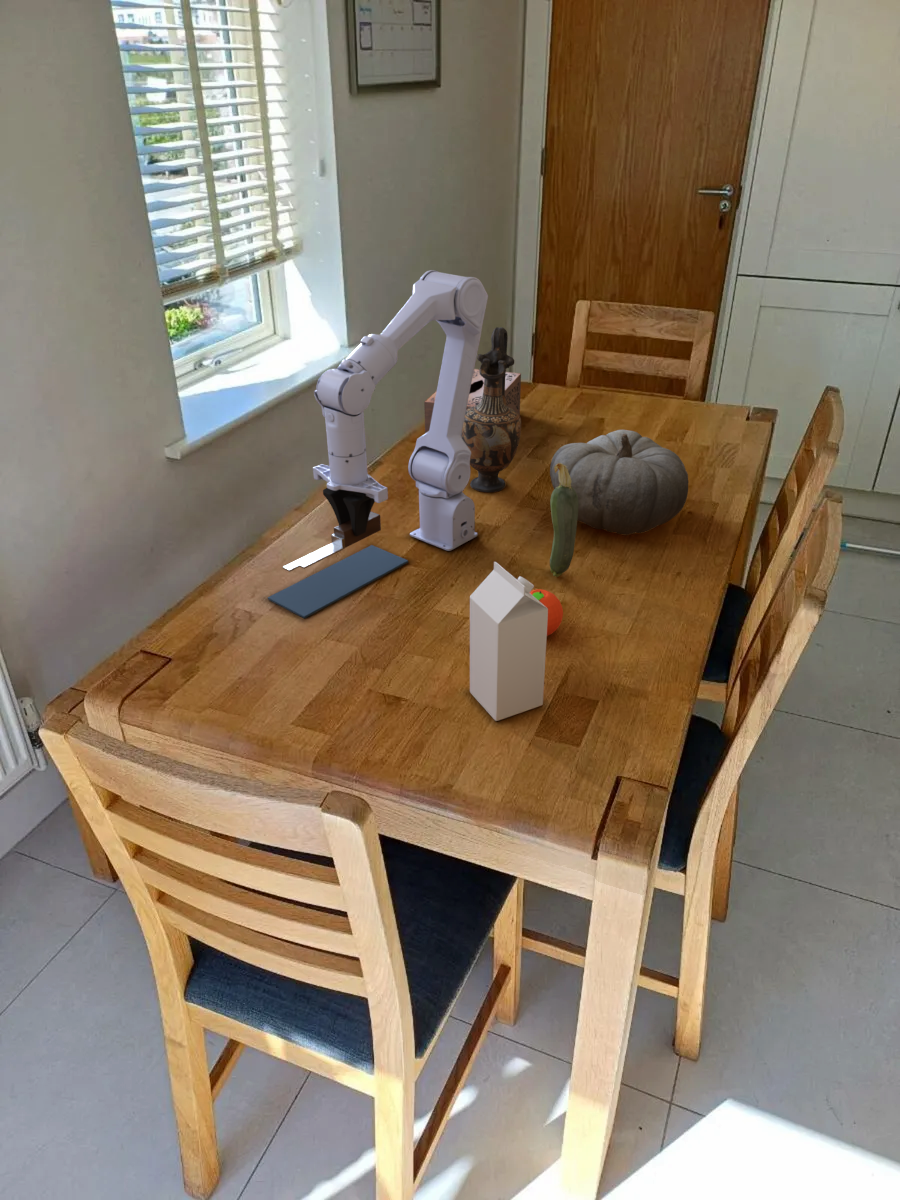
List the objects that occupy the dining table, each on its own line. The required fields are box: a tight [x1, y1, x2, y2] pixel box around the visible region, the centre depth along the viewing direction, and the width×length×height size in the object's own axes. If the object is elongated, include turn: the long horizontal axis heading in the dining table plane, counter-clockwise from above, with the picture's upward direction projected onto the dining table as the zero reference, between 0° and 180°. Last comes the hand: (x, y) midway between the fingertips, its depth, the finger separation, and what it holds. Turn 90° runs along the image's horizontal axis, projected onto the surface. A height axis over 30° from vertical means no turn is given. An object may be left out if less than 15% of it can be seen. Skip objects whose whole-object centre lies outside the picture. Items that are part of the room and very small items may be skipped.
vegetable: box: [549, 463, 578, 578], centre depth 137 cm, size 4×4×20 cm
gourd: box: [549, 429, 689, 536], centre depth 157 cm, size 25×25×17 cm
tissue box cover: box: [423, 368, 522, 434], centre depth 199 cm, size 26×14×10 cm, turn 161°
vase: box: [461, 326, 522, 493], centre depth 167 cm, size 12×12×30 cm
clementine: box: [530, 588, 564, 637], centre depth 127 cm, size 8×7×7 cm
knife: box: [282, 510, 382, 573], centre depth 136 cm, size 19×3×3 cm, turn 139°
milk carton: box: [469, 561, 548, 722], centre depth 111 cm, size 7×7×19 cm
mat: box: [267, 544, 409, 619], centre depth 143 cm, size 9×23×1 cm, turn 139°
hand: (353, 530), depth 139 cm, fingers closed on knife, 2 cm apart
